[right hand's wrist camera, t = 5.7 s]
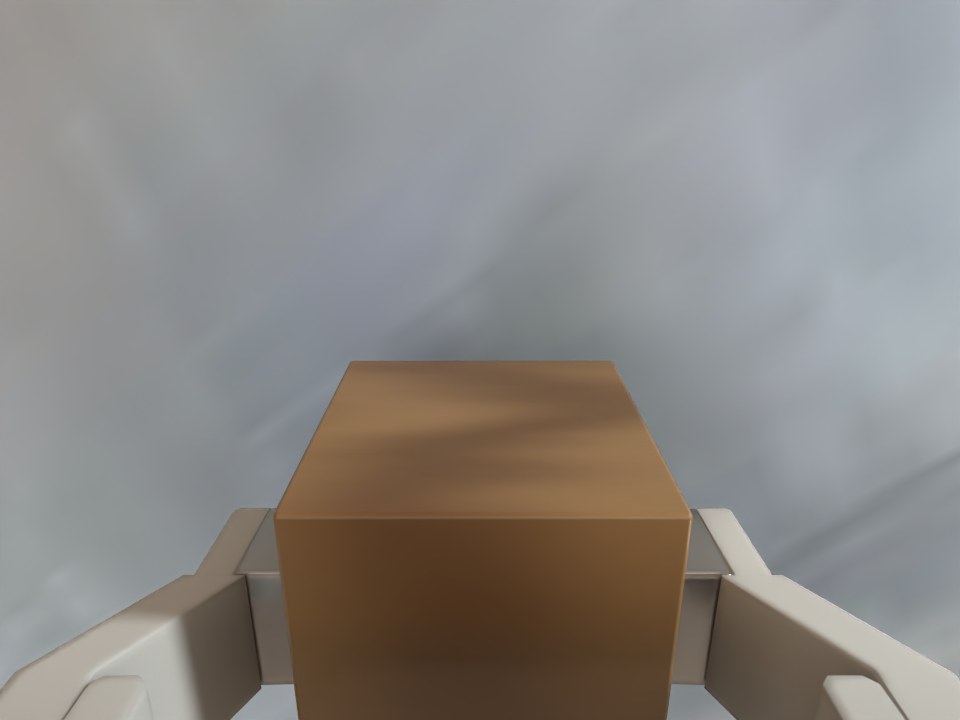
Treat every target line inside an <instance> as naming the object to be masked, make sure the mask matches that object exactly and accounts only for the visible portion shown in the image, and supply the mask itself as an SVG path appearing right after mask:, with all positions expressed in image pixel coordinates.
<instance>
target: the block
mask: <svg viewBox="0 0 960 720" xmlns="http://www.w3.org/2000/svg"><path fill="white" fill-rule="evenodd" d="M692 519H693V516H692V513H691V511H690V509H689V507H688V505H687V503H686V502H685V500H684V498H683V496H682V494H681V492H680V490H679V488H678V486H677V484H676V482H675V480H674V479H673V477H672V475H671V473H670V471H669V469H668V467H667V465H666V463H665V461H664V459H663V457H662V456H661V454H660V452H659V450H658V448H657V446H656V444H655V442H654V440H653V438H652V436H651V434H650V433H649V431H648V429H647V427H646V425H645V423H644V421H643V419H642V417H641V415H640V413H639V411H638V410H637V408H636V406H635V404H634V402H633V400H632V398H631V396H630V394H629V392H628V390H627V388H626V387H625V385H624V383H623V381H622V379H621V377H620V375H619V373H618V371H617V369H616V367H615V365H614V364H613V362H611V361H352V362H350V364H349V366H348V368H347V370H346V372H345V374H344V376H343V378H342V380H341V382H340V384H339V386H338V388H337V390H336V392H335V394H334V396H333V398H332V400H331V402H330V404H329V406H328V408H327V410H326V412H325V414H324V416H323V418H322V420H321V422H320V423H319V425H318V427H317V429H316V431H315V433H314V435H313V437H312V439H311V441H310V443H309V445H308V447H307V449H306V451H305V453H304V455H303V457H302V459H301V461H300V463H299V465H298V467H297V469H296V471H295V473H294V475H293V477H292V479H291V481H290V483H289V485H288V487H287V489H286V491H285V493H284V495H283V497H282V499H281V501H280V503H279V505H278V507H277V509H276V511H275V513H274V515H273V521H274V529H275V537H276V545H277V553H278V561H279V569H280V577H281V584H282V592H283V600H284V608H285V616H286V624H287V632H288V640H289V648H290V656H291V664H292V672H293V680H294V688H295V696H296V704H297V711H298V719H299V720H666V719H667V711H668V704H669V696H670V688H671V681H672V673H673V665H674V657H675V650H676V642H677V634H678V627H679V619H680V611H681V603H682V596H683V588H684V580H685V573H686V565H687V557H688V549H689V542H690V534H691V526H692Z"/></svg>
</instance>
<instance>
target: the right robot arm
mask: <svg viewBox="0 0 960 720" xmlns="http://www.w3.org/2000/svg"><path fill="white" fill-rule="evenodd" d="M276 509H277V508H273V509H270V508H240V509H238V510H235V511H234V512H233V513H232V515H231V516H230V518H229V520H228V521H227V523H226V524H225V526H224V528H223V529H222V531H221V533H220V534H219V536H218V537H217V539H216V541H215V542H214V544H213V546H212V547H211V549H210V550H209V552H208V554H207V555H206V557H205V559H204V560H203V562H202V563H201V565H200V567H199V568H198V570H197V572H196V573H195V575H183V576H182V577H180V578H178V579H176V580H175V581H173V582H171V583H169V584H168V585H166V586H164V587H162V588H161V589H159V590H157V591H155V592H154V593H152V594H150V595H149V596H147V597H145V598H143V599H142V600H140V601H138V602H136V603H135V604H133V605H131V606H129V607H128V608H126V609H124V610H122V611H121V612H119V613H117V614H115V615H114V616H112V617H110V618H109V619H107V620H105V621H103V622H102V623H100V624H98V625H96V626H95V627H93V628H91V629H89V630H88V631H86V632H84V633H82V634H81V635H79V636H77V637H76V638H74V639H72V640H70V641H69V642H67V643H65V644H63V645H62V646H60V647H58V648H56V649H55V650H53V651H51V652H49V653H48V654H46V655H44V656H43V657H41V658H39V659H37V660H36V661H34V662H32V663H30V664H29V665H27V666H25V667H23V668H22V669H20V670H18V671H16V672H15V673H14V674H13V675H12V677H11V678H10V679H9V680H8V681H7V683H6V684H5V685H4V686H3V687H2V689H1V690H0V720H230V719H231V718H232V717H233V716H234V715H235V714H236V713H237V712H238V711H239V710H240V709H241V708H242V707H243V706H244V705H245V704H246V703H247V702H248V701H249V700H250V699H251V698H252V697H253V696H254V695H255V694H256V693H257V692H258V691H259V690H260V689H261V685H274V684H294V680H293V672H292V664H291V656H290V648H289V640H288V632H287V624H286V616H285V608H284V600H283V592H282V584H281V577H280V569H279V561H278V553H277V545H276V537H275V529H274V521H273V515H274V513H275V511H276ZM690 511H691V513H692V516H693V519H692V526H691V534H690V542H689V549H688V557H687V565H686V573H685V580H684V588H683V596H682V603H681V611H680V619H679V627H678V634H677V642H676V650H675V657H674V665H673V673H672V681H671V684H692V685H705V689H706V690H707V691H708V692H709V693H710V694H711V695H712V696H713V697H714V698H715V699H716V700H717V701H718V702H719V703H720V704H722V705H723V706H724V707H725V708H726V709H727V710H728V711H729V712H730V713H731V714H732V715H733V716H734V717H735V718H736V719H737V720H960V679H959V678H958V677H957V676H956V675H955V673H953V672H951V671H949V670H948V669H946V668H944V667H942V666H941V665H939V664H937V663H935V662H934V661H932V660H930V659H928V658H927V657H925V656H923V655H921V654H920V653H918V652H916V651H914V650H913V649H911V648H909V647H907V646H906V645H904V644H902V643H900V642H899V641H897V640H895V639H893V638H892V637H890V636H888V635H886V634H885V633H883V632H881V631H879V630H878V629H876V628H874V627H872V626H871V625H869V624H867V623H865V622H864V621H862V620H860V619H858V618H857V617H855V616H853V615H851V614H850V613H848V612H846V611H844V610H843V609H841V608H839V607H837V606H836V605H834V604H832V603H830V602H829V601H827V600H825V599H823V598H822V597H820V596H818V595H816V594H815V593H813V592H811V591H810V590H808V589H806V588H804V587H803V586H801V585H799V584H797V583H796V582H794V581H792V580H790V579H789V578H787V577H785V576H783V575H772V574H771V572H770V571H769V569H768V568H767V566H766V565H765V563H764V561H763V560H762V558H761V557H760V555H759V554H758V552H757V551H756V549H755V547H754V546H753V544H752V543H751V541H750V540H749V538H748V536H747V535H746V533H745V532H744V530H743V529H742V527H741V525H740V524H739V522H738V521H737V519H736V518H735V516H734V514H733V513H732V511H731V510H729V509H727V508H705V509H690Z"/></svg>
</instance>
